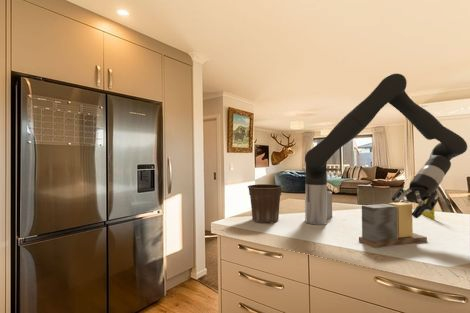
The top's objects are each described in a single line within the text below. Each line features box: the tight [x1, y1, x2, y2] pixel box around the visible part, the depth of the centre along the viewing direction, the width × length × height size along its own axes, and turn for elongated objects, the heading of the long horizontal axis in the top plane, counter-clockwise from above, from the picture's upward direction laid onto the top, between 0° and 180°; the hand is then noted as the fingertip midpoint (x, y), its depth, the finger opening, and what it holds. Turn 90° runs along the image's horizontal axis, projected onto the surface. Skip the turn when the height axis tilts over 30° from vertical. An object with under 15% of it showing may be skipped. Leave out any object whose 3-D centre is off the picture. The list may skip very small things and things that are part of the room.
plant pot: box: [247, 183, 283, 224], centre depth 121 cm, size 16×16×16 cm
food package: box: [417, 199, 435, 220], centre depth 127 cm, size 15×1×20 cm, turn 168°
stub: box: [388, 201, 414, 238], centre depth 90 cm, size 6×4×11 cm, turn 106°
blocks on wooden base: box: [358, 203, 428, 249], centre depth 89 cm, size 22×7×12 cm, turn 106°
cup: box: [327, 190, 333, 219], centre depth 129 cm, size 9×9×12 cm
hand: (402, 213), depth 90 cm, fingers open, 8 cm apart
